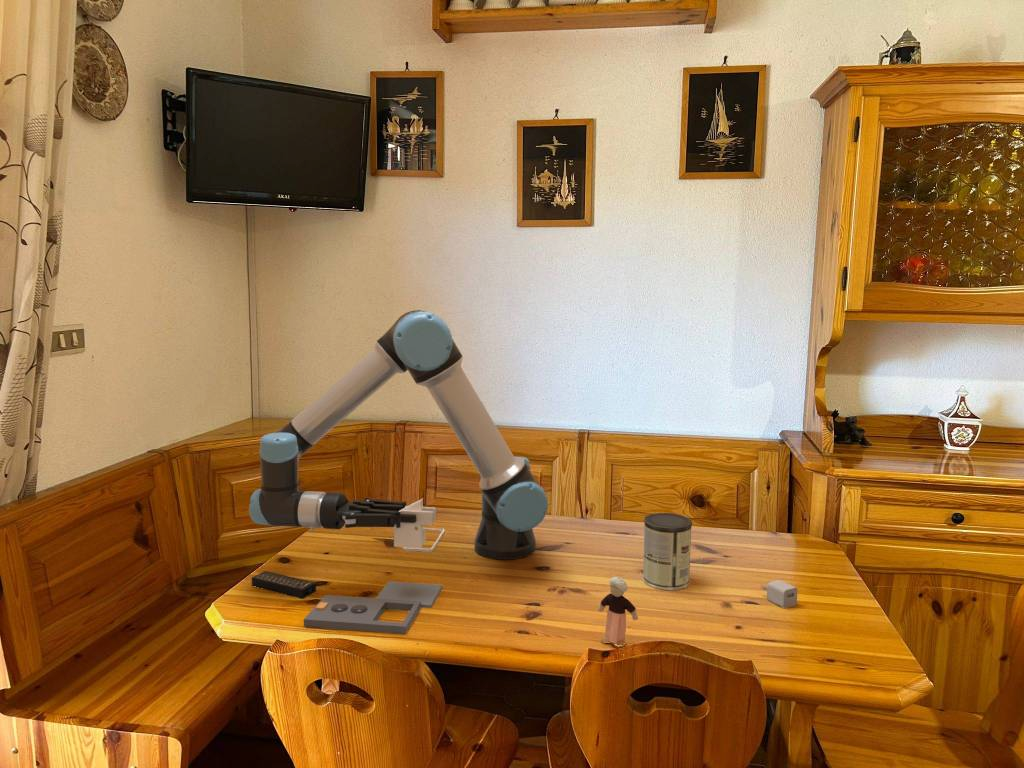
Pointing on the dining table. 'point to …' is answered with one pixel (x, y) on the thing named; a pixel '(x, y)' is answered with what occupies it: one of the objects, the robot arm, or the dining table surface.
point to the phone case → (423, 548)
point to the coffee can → (667, 551)
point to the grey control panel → (360, 614)
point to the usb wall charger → (781, 593)
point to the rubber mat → (411, 592)
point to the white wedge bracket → (410, 530)
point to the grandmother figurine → (617, 612)
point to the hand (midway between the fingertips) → (434, 516)
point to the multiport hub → (284, 584)
